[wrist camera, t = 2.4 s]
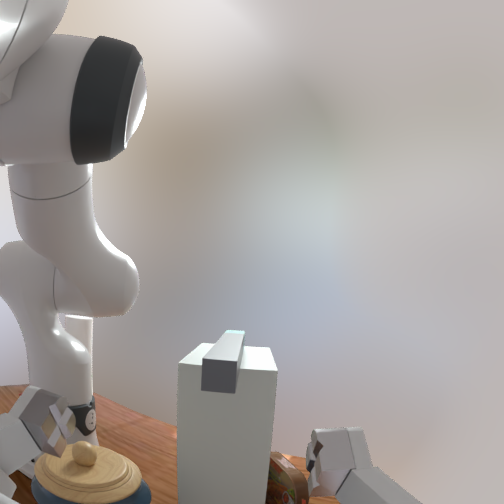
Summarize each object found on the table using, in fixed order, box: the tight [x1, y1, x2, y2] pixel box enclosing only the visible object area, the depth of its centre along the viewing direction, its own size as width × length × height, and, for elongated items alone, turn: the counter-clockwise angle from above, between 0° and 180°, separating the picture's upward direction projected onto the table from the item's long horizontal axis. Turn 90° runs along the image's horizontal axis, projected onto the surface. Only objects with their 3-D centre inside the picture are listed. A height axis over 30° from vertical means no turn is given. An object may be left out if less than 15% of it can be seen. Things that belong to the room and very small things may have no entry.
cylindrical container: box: [65, 315, 93, 395], centre depth 66 cm, size 7×7×25 cm
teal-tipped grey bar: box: [201, 330, 245, 394], centre depth 33 cm, size 2×23×2 cm, turn 0°
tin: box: [265, 452, 309, 504], centre depth 40 cm, size 15×3×8 cm, turn 20°
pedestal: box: [177, 343, 278, 504], centre depth 37 cm, size 10×16×26 cm, turn 0°
